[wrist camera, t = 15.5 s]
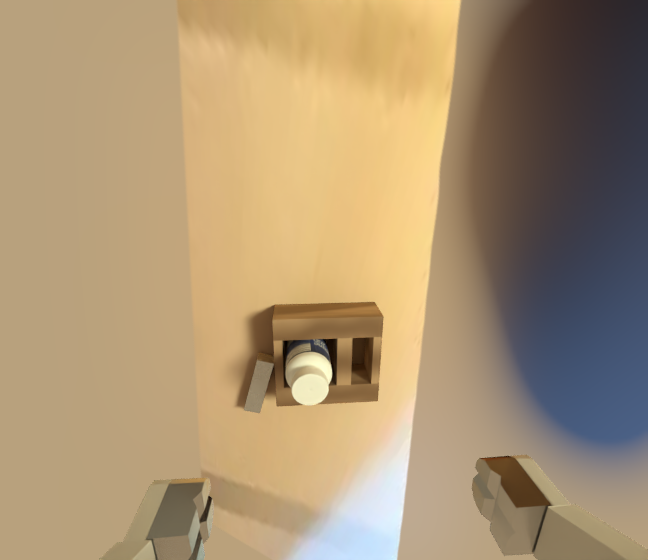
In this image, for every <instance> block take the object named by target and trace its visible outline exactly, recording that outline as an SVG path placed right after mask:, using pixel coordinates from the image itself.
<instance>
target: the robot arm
mask: <svg viewBox="0 0 648 560" xmlns="http://www.w3.org/2000/svg"><path fill="white" fill-rule="evenodd" d="M476 470H477V471H478V474H477V475H476V476H475V477H474V478H473V483H472V491H473V496H474V500H475V502H476V505H477V507H478V509H479V511H480V513H481V514H482V515H483V516H484V517H485V518H486V519H488V520H489V521H490V522H491V524H490V531H491V533H492V535H493V537H494V538H495V540H496V542H497V544H498V546H499V548H500V549H501V551H502V553H503V555H504V556H505V555H522V554H534V557H535V558H536V559H538V560H648V549H647V548H645V547H644V546H642V545H640V544H639V543H637V542H636V541H634V540H632V539H631V538H629V537H627V536H626V535H624V534H623V533H621V532H619V531H618V530H616V529H615V528H613V527H611V526H610V525H608V524H607V523H605V522H603V521H601V520H600V519H599V518H597V517H595V516H593V515H592V514H590V513H589V512H587V511H586V510H584V509H582V508H581V507H579V506H578V505H576V504H570V503H569V502H568V501H567V500H566V498H565V497H564V496H563V495H562V494H561V492H560V491H559V490H558V489H557V488H556V487H555V485H554V484H553V483H552V482H551V481H550V479H549V478H548V477H547V476H546V475H545V473H544V472H543V471H542V470H541V469H540V467H539V466H538V465H537V464H536V463H535V462H534V460H533V459H532V458H531V457H529V456H528V455H517V456H516V455H515V456H499V457H487V458H479V459H478V460H477V462H476ZM210 488H211V485H210V480H209V478H192V479H172V480H154V482H153V483H152V484H151V485H150V486H149V488H148V490H147V493H146V494H145V497H144V499H143V501H142V503H141V505H140V507H139V509H138V511H137V513H136V516H135V518H134V520H133V522H132V524H131V526H130V528H129V530H128V532H127V534H126V536H125V538H124V541H123V542H119V543H116V544H115V545H114V546H113V547H112V548H111V549H110V550H109V551H107V552H106V553H105V554H104V555H103V556H102V557H101V558H100V559H99V560H204V556H205V554H204V549H203V544H204V543H205V542H206V540H207V539H208V538H209V536H210V531H211V527H212V520H213V499H212V498H211V497H210V496H209V491H210Z"/></svg>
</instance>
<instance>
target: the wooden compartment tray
mask: <svg viewBox="0 0 648 560" xmlns="http://www.w3.org/2000/svg"><path fill="white" fill-rule="evenodd" d="M272 325H273V344H274V364H275V383H276V403H277V406H294V405H303V404H300V403H299V402H297V401H296V400H295V399H294V397H293V395H292V391H291V387H290V386H289V385H288V383H287V380H286V375H285V370H286V367H285V351H284V340H311V339H333V365H331V367H332V378H331V381H330V383H329V385H328V386H329V391H328V394H327V396H326V398H325V399H324V400H323V401H322V402H320V403H318V404H332V403H351V402H370V401H378V390H379V375H380V360H381V345H382V330H383V315H382V313H381V312H380V310H379V308H378V307H377V305H376V304H375V302H361V303H325V304H289V305H275V307H274V313H273V318H272ZM353 338H365V356H364V364H352V339H353Z"/></svg>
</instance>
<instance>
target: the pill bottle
mask: <svg viewBox="0 0 648 560" xmlns="http://www.w3.org/2000/svg"><path fill="white" fill-rule="evenodd" d="M285 375H286V380H287V383H288V385H289V386H290V387H291V391H292V395H293V397H294V399H295V400H296V401H297V402H299V403H300V404H303V405H315V404H318V403H320V402H322V401H323V400H324V399H325V398H326V396H327V394H328V391H329V386H328V385H329V383H330V381H331V378H332V367H331V362H330V357H329V352H328V347H327V343H326V339H311V340H288V342H287V351H286V370H285Z"/></svg>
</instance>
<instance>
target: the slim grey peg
mask: <svg viewBox="0 0 648 560" xmlns="http://www.w3.org/2000/svg"><path fill="white" fill-rule="evenodd" d="M273 365H274V356H273V355H268V354H264V353H259V354H258V358H257V362H256V365H255V369H254V373H253V376H252V380H251V384H250V388H249V391H248V395H247V399H246V403H245V407H244V410H245V411H250V412H256V413H260V411H261V407H262V404H263V400H264V397H265V393H266V390H267V386H268V383H269V379H270V376H271V372H272V369H273Z"/></svg>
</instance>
